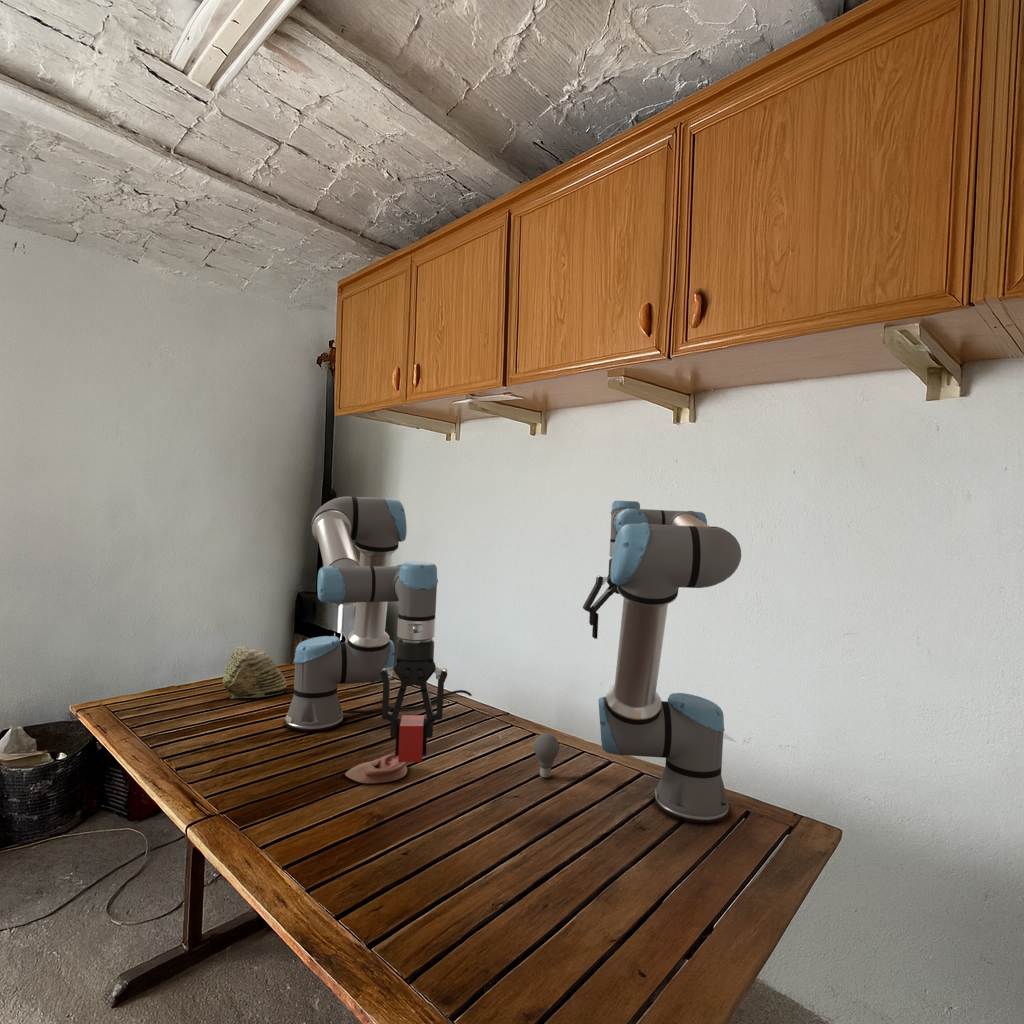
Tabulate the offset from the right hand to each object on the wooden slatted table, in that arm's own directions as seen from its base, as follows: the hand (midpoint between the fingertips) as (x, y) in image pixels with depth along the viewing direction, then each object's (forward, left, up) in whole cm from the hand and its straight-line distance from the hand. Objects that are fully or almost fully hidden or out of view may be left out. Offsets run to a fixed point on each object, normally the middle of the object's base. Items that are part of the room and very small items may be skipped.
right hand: (619, 638), depth 169 cm
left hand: (+54, +33, -17) cm, 65 cm away
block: (+54, +33, -17) cm, 65 cm away
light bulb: (+23, +18, -29) cm, 41 cm away
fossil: (+103, -44, -29) cm, 116 cm away
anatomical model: (+61, +14, -29) cm, 69 cm away
